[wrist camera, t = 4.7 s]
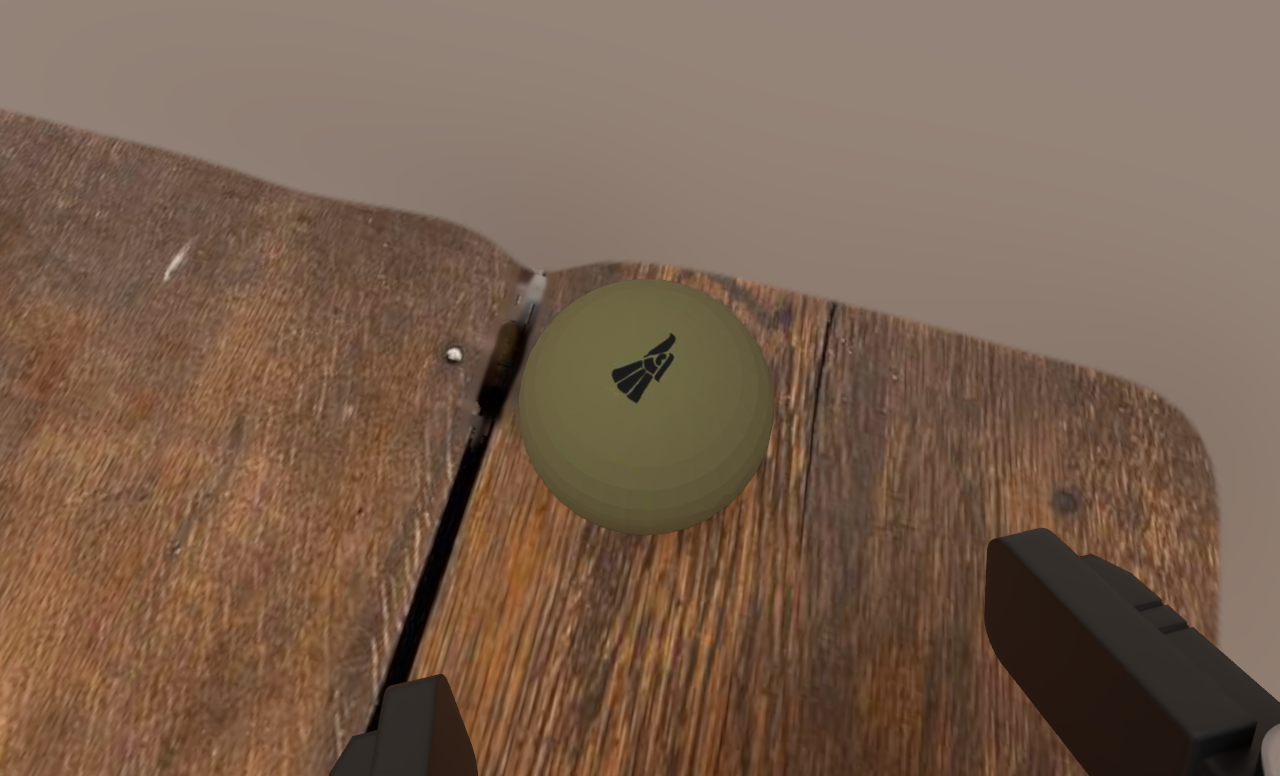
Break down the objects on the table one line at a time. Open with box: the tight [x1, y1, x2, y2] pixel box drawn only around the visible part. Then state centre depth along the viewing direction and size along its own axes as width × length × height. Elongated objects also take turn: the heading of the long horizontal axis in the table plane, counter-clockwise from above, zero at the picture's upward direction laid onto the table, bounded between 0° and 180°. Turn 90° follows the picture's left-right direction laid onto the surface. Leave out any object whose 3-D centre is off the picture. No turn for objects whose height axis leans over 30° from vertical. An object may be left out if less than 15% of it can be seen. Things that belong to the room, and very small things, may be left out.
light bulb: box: [519, 279, 774, 535], centre depth 19 cm, size 6×6×10 cm
